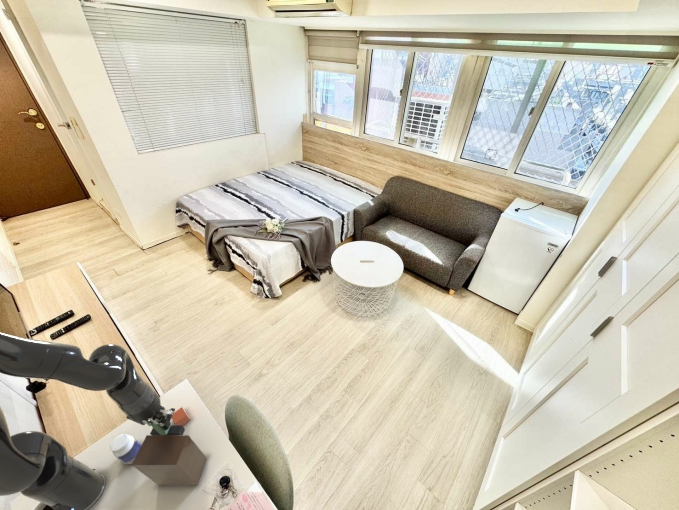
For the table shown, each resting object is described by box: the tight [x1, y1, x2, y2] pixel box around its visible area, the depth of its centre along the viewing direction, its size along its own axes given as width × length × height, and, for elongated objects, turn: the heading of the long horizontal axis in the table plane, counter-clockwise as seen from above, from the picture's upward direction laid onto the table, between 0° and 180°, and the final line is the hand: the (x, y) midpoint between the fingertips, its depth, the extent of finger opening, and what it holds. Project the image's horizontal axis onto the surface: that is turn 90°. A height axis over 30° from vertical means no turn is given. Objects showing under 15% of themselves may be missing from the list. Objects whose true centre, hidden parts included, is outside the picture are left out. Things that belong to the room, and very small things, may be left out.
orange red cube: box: [171, 406, 191, 427], centre depth 95 cm, size 4×4×4 cm
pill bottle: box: [109, 433, 142, 465], centre depth 85 cm, size 6×6×10 cm
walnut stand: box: [131, 434, 208, 486], centre depth 79 cm, size 12×7×18 cm, turn 90°
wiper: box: [149, 422, 186, 435], centre depth 83 cm, size 9×3×10 cm, turn 90°
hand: (163, 426), depth 83 cm, fingers closed on wiper, 2 cm apart
